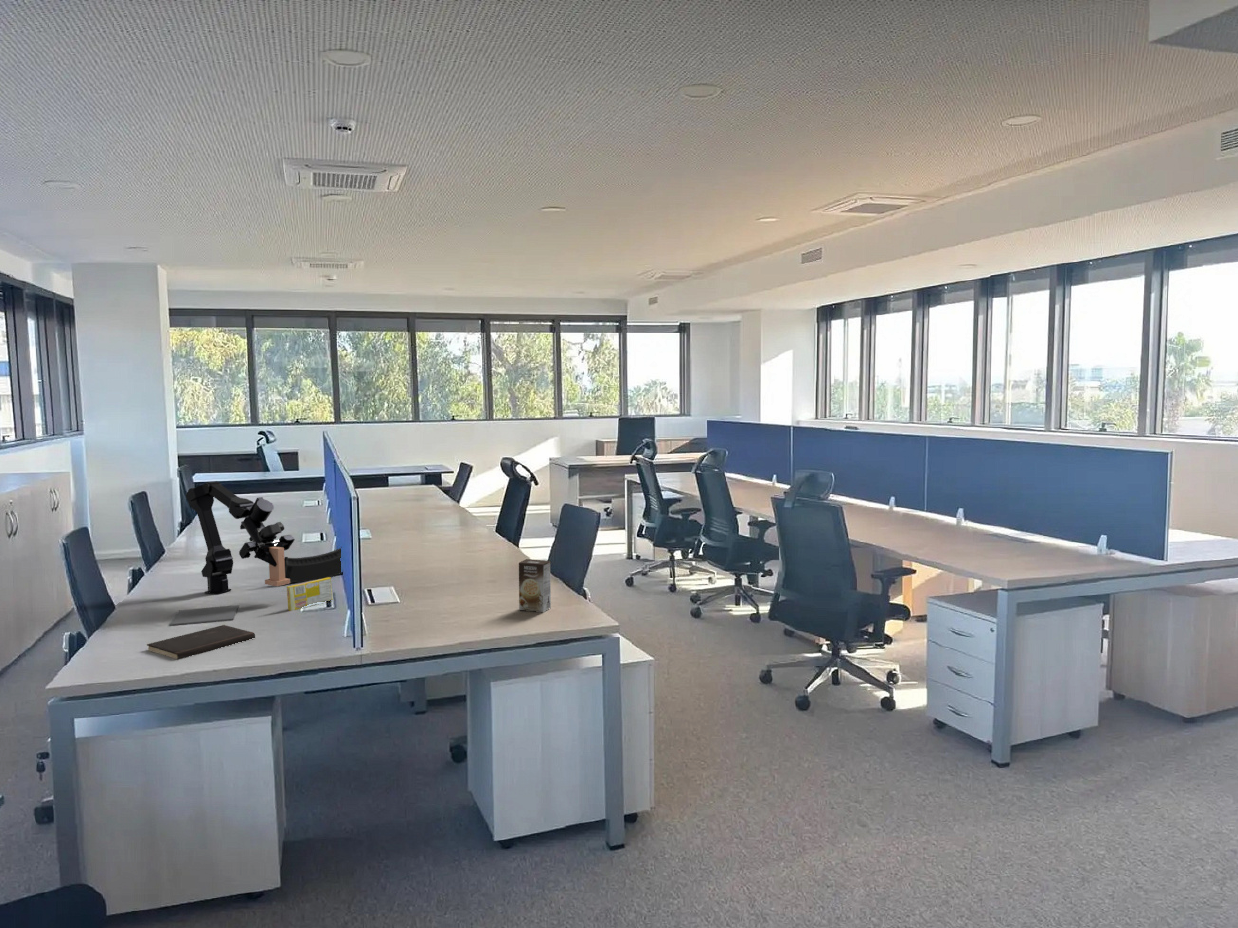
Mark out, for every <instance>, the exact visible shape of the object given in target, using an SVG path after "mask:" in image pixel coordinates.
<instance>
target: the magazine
mask: <svg viewBox="0 0 1238 928" xmlns="http://www.w3.org/2000/svg"><path fill="white" fill-rule="evenodd" d="M341 548H342V547H340V548H337V549H335V550H332V551H329V552H326V553H322V554H317V555H313V556H311V555H310V556H303V557H289V556H284V561H285V578H288V579H290V583H300V582H301V583H306V582H310V581H314V580H319V579H323V578H328V577H329V578H332V577H334V576H337V575H338V576H339V575H341V574H342V573H341V561H340V558H341Z"/></svg>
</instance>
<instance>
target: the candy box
mask: <svg viewBox="0 0 1238 928" xmlns="http://www.w3.org/2000/svg"><path fill="white" fill-rule="evenodd" d="M332 589H333V588H332V577H328V578H323V579H318V580H312V581H305V582H301V583H297V584H293V585H289V586H286V596H287V610H288V611H289V612H292V611H297V610H301V608H302V607H304V606H307V605H309V604H313V603H317V602H325V601H330V600H333V601H334V599H333V598H334V597H333V590H332ZM330 602H331V601H330ZM302 609H303V608H302Z"/></svg>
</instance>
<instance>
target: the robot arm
mask: <svg viewBox="0 0 1238 928" xmlns="http://www.w3.org/2000/svg"><path fill="white" fill-rule="evenodd" d="M185 494H186V495H185V497H186V500H187V502H188V505H189V507H190V508H191V509H192V510H193V511H195V512H196V514H197V518H198V520H199V521H198V522H199V524H200V527H201V531H202V534H203V536H204V537H203V538H204V541H205V546H206V547H207V553H206V555H205V564H204V566H203V568H202V570H201V576H202V577H203V578H206V579H207V590H204V594H210V595H211V594H212V595H213V594H214V595H219V594H224V593H226V592H230V591H232V589H231V588H229V579H228V575H231V574H232V572H233V569H234V568H233V566H234V558H233V556H232V555H233V554H232V552H231V549H230V548H225V547H224V546H223V542H222V539H221V536H220V533H219V530H218V527H217V526H218V525H217V523H216V519H215V515H214V513H213V509H212V508H213V505H214V502H215V499H216V500H217V501H219V503H221V504H223V505H224V506H225V507H226V508H228V513H229V514H230V515H231V516H232V517H233V518H234V519H236V520H240V519H243V521H241V522H240V525H239V529H240V530H246V532H247V534H248V535H249V536H250V537H249V538H248V539H249V541H248V542H247V541H246V542H244V544H242V547H241V548H240V549H239V551H238V552H239V553H238V554H239V557H241V559H242V560H244V559H249V558H250V557H251V554H252V552H254V554H255V555H254V556H253V557H254V559H258V560H261V561H264V562H265V563H267V564H268V565H269V564H271V565H273V566H274V567H276V566H277V563H276V561H275V560H274V558H273V556H272V555H271V553H270V551H269V547H282V548H284V552H285V551H288V550H289V549H290V547H291V546H292V545H293V543H294V542H295V538H294V536H293V535H292V534H286V535H281V536H280V537H279V539H278V540H276V539H277V538H278V537H277V535H279V534H282V533H283V531H284V530H285V526H284V524H283V522H281V521H277V522H275V523H273V524H268V525H267V526H266V525H265V523H263V522H266V521H267V519H268V517H269V516H270V514H271V513H272V512H273V510H274V508H275V507H274V504H273V503H272V502H271V501H269V500H267V499H264V497H263V496H261V497H256V498H255V501H253V500H250V499H248V498H245V497H244V498H243V497H239V496H237V494H235V493H233V492H232V491H230V490H229V489H227V488H226V487H225V486H223V485H222V483H221V482H220V481H217V480H216V481H207V482H206V483H203V484H202V485H199V486H196V487H191V488H189V489H188V490H187V492H186V493H185Z"/></svg>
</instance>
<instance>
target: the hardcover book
mask: <svg viewBox="0 0 1238 928" xmlns="http://www.w3.org/2000/svg"><path fill="white" fill-rule="evenodd" d="M252 638H255V639H256V634H255V632H253V631H249V630H247V629H246V630H245V629H241V628H237V627H234V626H229V625H225V624H222V625H219V626H214V627H210V628H206V629H201V630H198V631H194V632H190V633H186V634H182V635H178V636H175V637H171V638H166V639H163V640H159V641H155V642H151V643H146V646H147V647H148V648H147V649H148V651H150V652H153V653H156V654H158V655H163V656H165V655H166V657H170V658H172V659H174V660H177V661H179V660H182V659H186V658H189V656H190V657H193V656H192V655H194V656H196V655H202V654H203V653H207V652H208V653H209V652H211V651H214V650H215V649H216V650H219V649H222V648H221V647H223V648H226V647H225V646H227V647H230V646H233V645H232V644H234V645H236V644H235V643H238V642H241V643H243V642H242V641H245V642H247V641H246V640H249V639H252ZM252 640H253V639H252ZM249 641H250V640H249ZM238 644H239V643H238ZM229 645H230V646H229ZM218 648H219V649H218Z"/></svg>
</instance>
